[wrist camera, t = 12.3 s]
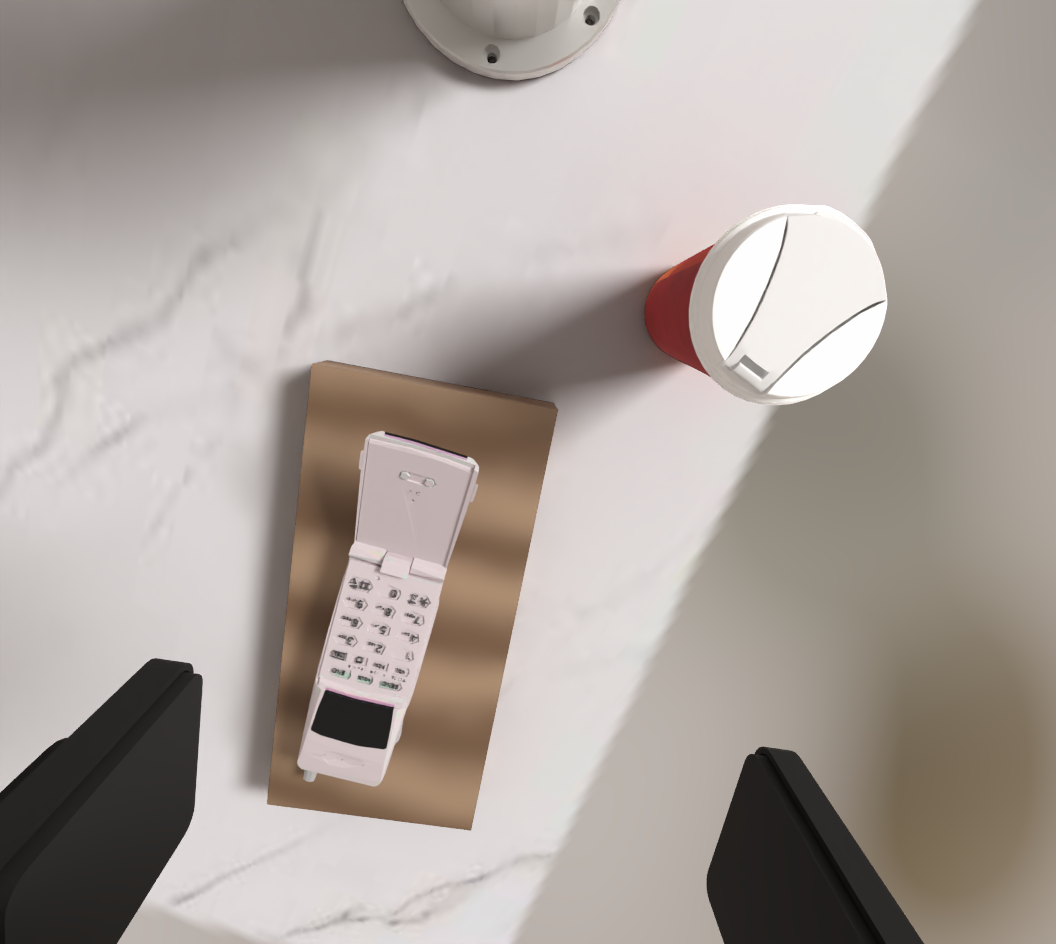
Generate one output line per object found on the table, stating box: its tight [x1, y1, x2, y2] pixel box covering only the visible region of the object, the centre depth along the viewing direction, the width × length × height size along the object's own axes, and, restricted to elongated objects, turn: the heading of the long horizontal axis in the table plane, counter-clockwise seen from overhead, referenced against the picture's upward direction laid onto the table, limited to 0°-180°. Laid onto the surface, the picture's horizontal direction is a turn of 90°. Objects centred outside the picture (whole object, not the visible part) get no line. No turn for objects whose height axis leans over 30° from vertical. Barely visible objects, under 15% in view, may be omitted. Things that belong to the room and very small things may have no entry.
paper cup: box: [645, 204, 887, 405], centre depth 29 cm, size 8×8×14 cm
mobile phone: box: [297, 431, 479, 787], centre depth 34 cm, size 6×6×25 cm
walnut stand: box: [267, 360, 558, 830], centre depth 38 cm, size 30×14×3 cm, turn 169°
